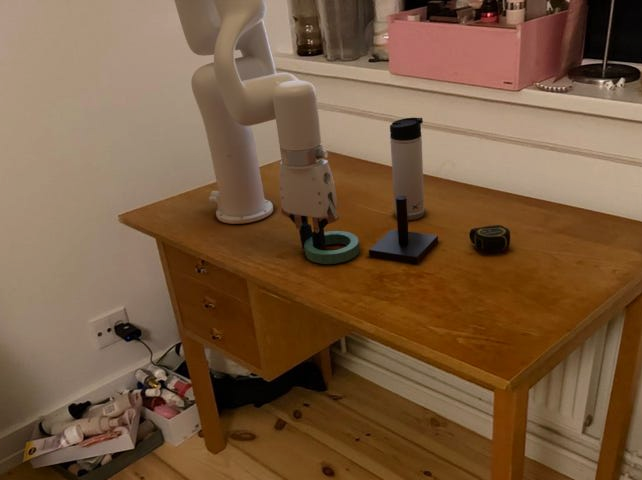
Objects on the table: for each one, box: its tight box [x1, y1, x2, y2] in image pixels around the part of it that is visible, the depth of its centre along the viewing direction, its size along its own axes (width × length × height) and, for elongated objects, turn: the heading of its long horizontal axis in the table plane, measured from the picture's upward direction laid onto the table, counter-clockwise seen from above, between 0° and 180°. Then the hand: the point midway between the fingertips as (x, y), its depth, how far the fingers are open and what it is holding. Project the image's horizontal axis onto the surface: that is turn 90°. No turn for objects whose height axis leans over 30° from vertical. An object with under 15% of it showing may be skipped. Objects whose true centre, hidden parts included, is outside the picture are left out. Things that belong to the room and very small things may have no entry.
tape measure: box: [468, 224, 511, 253], centre depth 132 cm, size 7×7×4 cm
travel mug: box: [389, 117, 425, 221], centre depth 144 cm, size 6×7×20 cm
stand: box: [368, 196, 439, 265], centre depth 132 cm, size 10×10×10 cm
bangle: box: [304, 230, 361, 265], centre depth 135 cm, size 10×10×2 cm
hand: (313, 246), depth 137 cm, fingers closed on bangle, 2 cm apart
